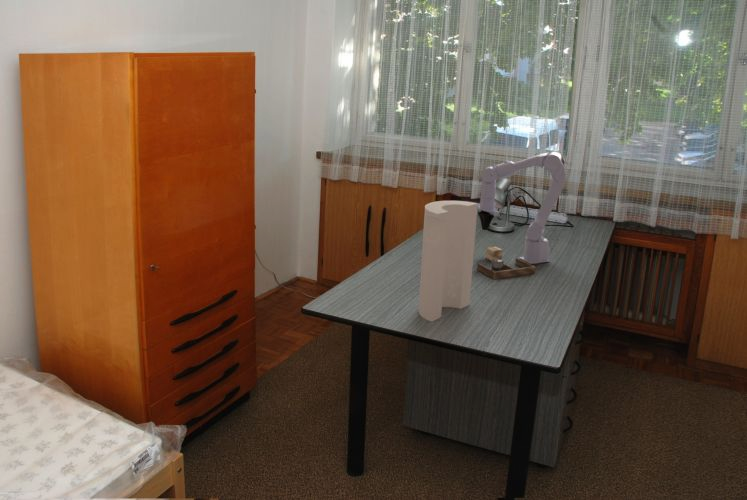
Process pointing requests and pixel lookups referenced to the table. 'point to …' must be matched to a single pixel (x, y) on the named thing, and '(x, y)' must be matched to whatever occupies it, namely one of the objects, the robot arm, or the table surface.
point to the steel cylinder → (497, 265)
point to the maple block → (493, 253)
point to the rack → (508, 270)
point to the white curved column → (447, 256)
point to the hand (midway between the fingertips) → (485, 229)
